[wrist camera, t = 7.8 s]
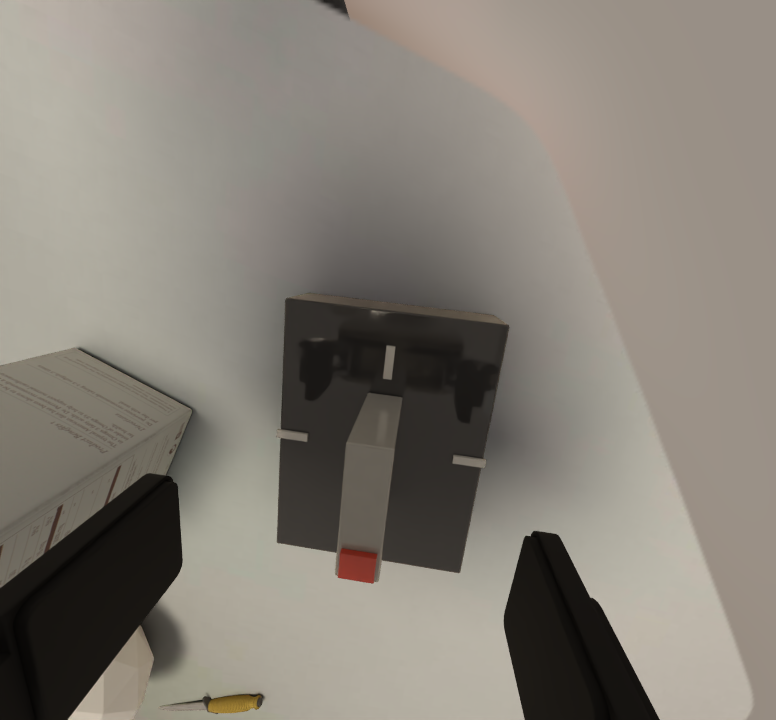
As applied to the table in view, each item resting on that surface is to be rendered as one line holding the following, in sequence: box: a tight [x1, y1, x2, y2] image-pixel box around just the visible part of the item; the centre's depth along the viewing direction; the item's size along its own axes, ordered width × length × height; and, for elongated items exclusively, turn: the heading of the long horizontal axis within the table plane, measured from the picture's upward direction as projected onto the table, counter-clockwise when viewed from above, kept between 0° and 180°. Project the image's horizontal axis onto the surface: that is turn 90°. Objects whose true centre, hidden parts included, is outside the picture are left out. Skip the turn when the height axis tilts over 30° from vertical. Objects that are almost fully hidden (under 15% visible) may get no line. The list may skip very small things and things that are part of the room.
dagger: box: [159, 695, 263, 714], centre depth 26 cm, size 11×1×2 cm
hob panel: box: [277, 293, 509, 573], centre depth 17 cm, size 12×9×3 cm
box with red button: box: [335, 393, 403, 584], centre depth 13 cm, size 5×2×5 cm, turn 174°
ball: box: [68, 626, 154, 720], centre depth 21 cm, size 8×8×8 cm
